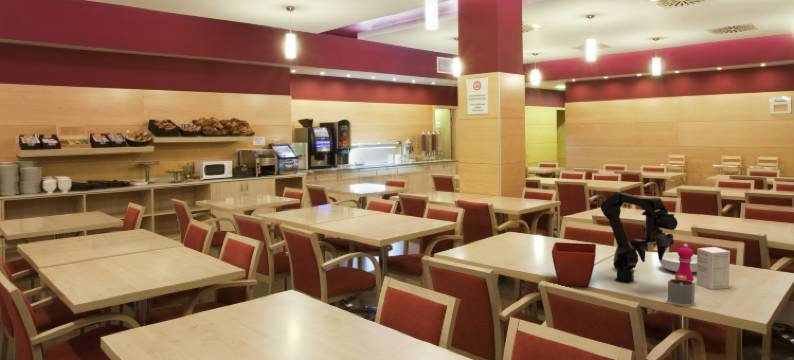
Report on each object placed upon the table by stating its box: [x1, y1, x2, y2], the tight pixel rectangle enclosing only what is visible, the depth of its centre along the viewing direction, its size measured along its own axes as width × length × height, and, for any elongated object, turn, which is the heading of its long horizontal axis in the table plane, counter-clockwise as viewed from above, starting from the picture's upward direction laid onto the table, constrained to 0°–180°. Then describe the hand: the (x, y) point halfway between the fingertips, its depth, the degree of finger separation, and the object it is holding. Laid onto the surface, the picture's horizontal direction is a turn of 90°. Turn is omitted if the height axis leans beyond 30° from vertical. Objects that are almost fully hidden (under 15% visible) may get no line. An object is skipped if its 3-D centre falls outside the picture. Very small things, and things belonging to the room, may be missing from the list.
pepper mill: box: [674, 243, 694, 282], centre depth 237 cm, size 7×7×20 cm
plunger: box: [677, 275, 687, 285], centre depth 218 cm, size 7×7×8 cm
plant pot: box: [551, 241, 597, 287], centre depth 249 cm, size 19×19×17 cm
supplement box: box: [696, 246, 731, 290], centre depth 238 cm, size 10×9×17 cm
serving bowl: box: [658, 251, 697, 273], centre depth 264 cm, size 21×21×7 cm
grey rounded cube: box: [667, 278, 696, 307], centre depth 219 cm, size 10×10×8 cm
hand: (651, 260), depth 235 cm, fingers open, 9 cm apart
